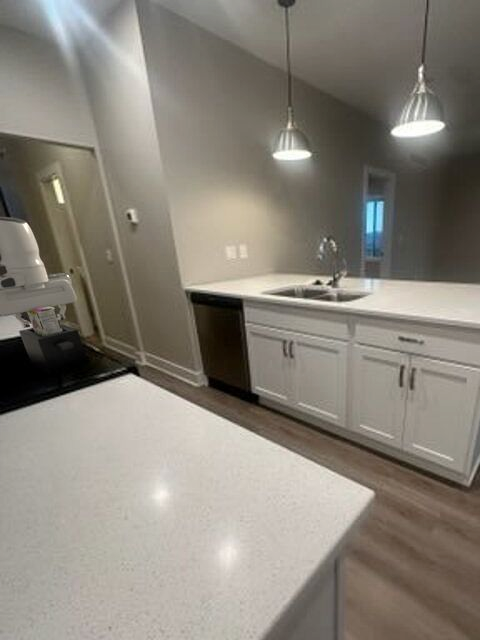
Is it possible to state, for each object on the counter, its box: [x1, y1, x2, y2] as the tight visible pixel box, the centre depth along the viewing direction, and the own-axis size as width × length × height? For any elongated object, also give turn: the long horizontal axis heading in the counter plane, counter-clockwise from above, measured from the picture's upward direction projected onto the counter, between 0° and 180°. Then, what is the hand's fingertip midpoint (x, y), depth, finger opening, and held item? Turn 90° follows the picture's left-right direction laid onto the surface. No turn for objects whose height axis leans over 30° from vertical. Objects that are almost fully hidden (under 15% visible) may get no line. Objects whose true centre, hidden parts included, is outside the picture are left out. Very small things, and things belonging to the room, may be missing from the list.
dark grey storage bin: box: [18, 323, 89, 376], centre depth 108 cm, size 10×17×11 cm, turn 52°
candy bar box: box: [26, 306, 62, 337], centre depth 106 cm, size 11×5×16 cm, turn 51°
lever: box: [56, 341, 74, 350], centre depth 100 cm, size 3×4×1 cm
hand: (45, 323), depth 105 cm, fingers open, 8 cm apart
